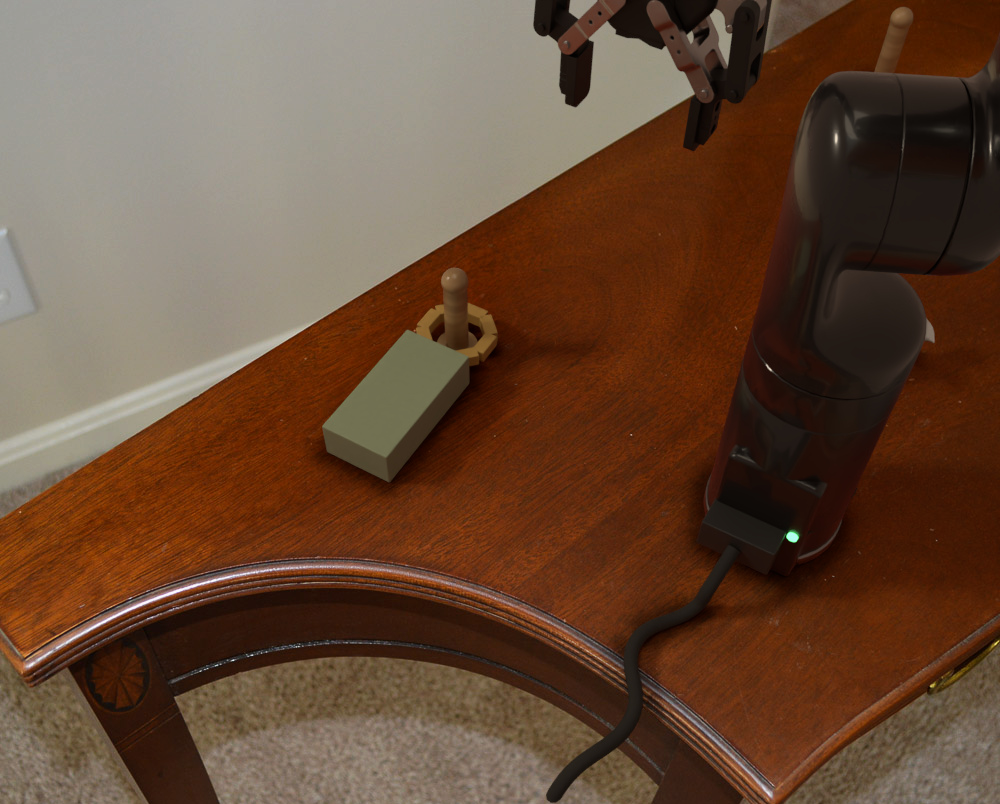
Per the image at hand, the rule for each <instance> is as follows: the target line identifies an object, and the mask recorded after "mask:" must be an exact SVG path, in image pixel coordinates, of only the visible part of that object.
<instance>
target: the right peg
mask: <svg viewBox="0 0 1000 804" xmlns="http://www.w3.org/2000/svg"><path fill="white" fill-rule="evenodd" d="M913 21H914V13H913V11H912V9H910V8H909V7H907V6H900V7H898V8H896V9H895V10H893V11H892V13H891V15H890V18H889V24H888V27H887V31H886V34H885V37H884V39H883V43H882V46H881V49H880V52H879V56H878V58H877V62H876V65H875V68H874V71H873V72H882V73H895V71H896V69H897V67H898V63H899V60H900V57H901V54H902V52H903V48H904V45H905V43H906V39H907V36H908V33H909V30H910V27H911V26H912V24H913Z"/></svg>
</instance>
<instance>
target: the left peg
mask: <svg viewBox="0 0 1000 804" xmlns="http://www.w3.org/2000/svg"><path fill="white" fill-rule="evenodd" d="M469 282H470V281H469V277H468V274H467V273H466V271H464V270H463V269H461V268H459V267H450V268H448V269H446V271H444V273H443V274H442V275H441V279H440V284H441V285H440V286H441V288H442V300H443V304H444V322H443V323H444V332H443V333H441V334H440V336H439V337H438V339H437V340H436V342H437V343H439V344H441V345H444V346H446V347H448V348H450V349H453V350H455V351H456V350H461V349H467V348H472V347H474V346H475V345H476V344H477V342H478V339H477V337H476V336H475V335H474V334H473V333H472V332H471V331H469V322H468V303H469V301H468V296H469V295H468V294H469V293H468V287H469Z"/></svg>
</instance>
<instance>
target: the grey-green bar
mask: <svg viewBox="0 0 1000 804" xmlns="http://www.w3.org/2000/svg"><path fill="white" fill-rule="evenodd" d="M442 323H445V322H444V303H442V304H437V305H435V306H434V308H430V309H429V310H427V312H426V313H425V314H424V315H423V316H422V318H421V319H420V320H419V321H418V322H417V324H416V327H415V332H414V331H412V330H410V329H406V330H405V331H404V332H403V334H402V335H401V336H400V337H399V338H398V339H397V341H396V342H394V344H393V345H392V346H391V347H390V348H389V349H388V350H387V352H386V353H385V354H384V355H383V356H382V357H381V358H380V360H378V362H377V363H376V364H374V365H375V366H373V368H372V369H371V370H370V371H369V372H368V373H367V375H365V376H364V378H363V379H362V380H361V381H360V382H359V384H357V386H356V387H355V388H354V389H353V390H352V391H351V393H350V394H349V395H348V396H347V397H346V398H345V399H344V401H343V402H342V403H341V404H340V405H339V406H338V407H337V408H336V409H335V411H334V412H333V413H332V414H331V415H330V416H329V418H328V419H327V420H325V422H324V423H323V424H322V426H321V429H322V434H323V438H324V439H323V440H324V445H325V448H326V449H325V450H326V452H327V453H328V454H330V455H333V456H335V457H336V458H339V459H341V460H342V461H345V462H347V463H349V464H351V465H353V466H355V467H357V468H359V469H361V470H362V471H365V472H367V473H369V474H371V475H373V476H375V477H377V478H379V479H380V480H382V481H385V482H387V483H391V482H392V481H393V480H394V478H395V477H396V475H397V474H398V473H399V472H400V471H401V469H402V468H403V467H404V466H405V464H406V463H407V462H408V461H409V459H410V458H411V457H412V455H414V453H415V452H416V450H417V449H418V448H419V447H420V446H421V444H423V442H424V441H425V439H426V438H427V437H428V436H429V434H430V433H431V432H432V431H433V430H434V428H435V427H436V426H437V424H438V423H439V422H440V421H441V420H442V418H443V417H444V416H445V415H446V413H447V412H448V411H449V409H450V408H451V407H452V406H453V405H454V404H455V402H456V401H457V400H458V398H459V397H460V396H461V395H462V394H463V392H464V391H465V389H467V387H468V386H469V384H470V367H473V366H478V365H480V362H483V363H484V362H485V361H486V359H487V358H488V357H489V355H490V354H491V353H492V352H493V351H494V350H495V348H496V347H497V346H498V341H499V339H498V338H499V333H498V328H497V327H496V323H495V320H494V318H493V315H492V314H491V313H490V314H489V311H488V310H487V309H484V308H481V307H480V306H478V305H475V304H473V303H470V302H468V324H472V325H474V326H477V327H479V329H480V332H481V335H482V336H481V338H479V340H477V344H476V345H475V346H474V347H472V348H467V349H461V350H456V351H455V350H453V349H450V348H448V347H446V346H444V345H441V344H439V343H437V341H434V340H433V336H432V333H433V332H434V331H435V330H436V329H437V327H438V326H439V325H441V324H442Z"/></svg>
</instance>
